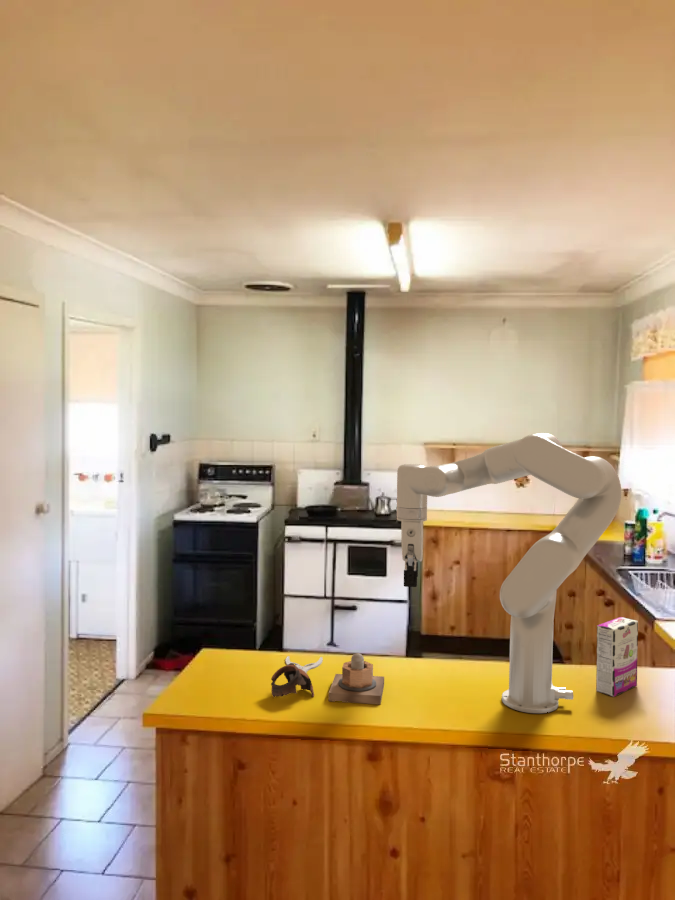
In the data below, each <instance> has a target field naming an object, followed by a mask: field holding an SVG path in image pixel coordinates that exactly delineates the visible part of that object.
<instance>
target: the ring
mask: <svg viewBox="0 0 675 900" xmlns="http://www.w3.org/2000/svg"><path fill="white" fill-rule="evenodd" d="M341 669H342V672H341V673H342V684H344V685H346V686H348V687H350V688H365V687H368V686H372V682H373V676H374V674H373V673H374V664H373V663H371V662H368V661H366V660H364V669H352V668H351V660H350V661H346V662H343V664H342V668H341Z"/></svg>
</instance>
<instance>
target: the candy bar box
mask: <svg viewBox="0 0 675 900" xmlns="http://www.w3.org/2000/svg"><path fill="white" fill-rule="evenodd" d="M638 629H639V621H638V620H636V619H632V618H628V617H627V618H626V617H624V616H623V617H622V616H619V617H616V618H614V619H611V620H608V621H606V622H603V623H600V624H598V625H596V680H595V681H596V683H595V684H596V686H595V687H596V689H595V691H596V692H598V693H600V694H604V695H606V696H610V697H612V698H615V697H616V696H619V695H621V694H623V693H625V692H627V691H629V690H631V689H633V688H635V687H637V686H638V645H639V644H638V643H639V642H638V641H639V640H638V639H639V637H638V636H639V633H638V632H639V630H638Z"/></svg>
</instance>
